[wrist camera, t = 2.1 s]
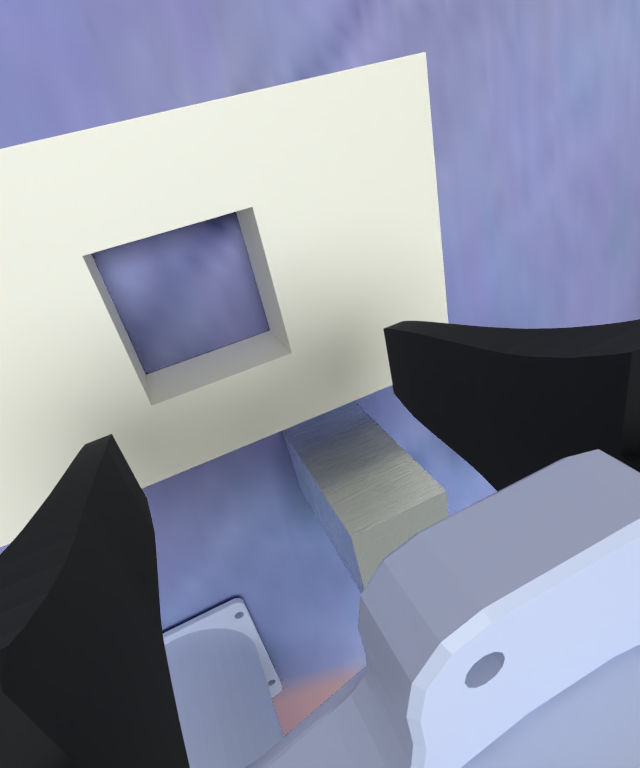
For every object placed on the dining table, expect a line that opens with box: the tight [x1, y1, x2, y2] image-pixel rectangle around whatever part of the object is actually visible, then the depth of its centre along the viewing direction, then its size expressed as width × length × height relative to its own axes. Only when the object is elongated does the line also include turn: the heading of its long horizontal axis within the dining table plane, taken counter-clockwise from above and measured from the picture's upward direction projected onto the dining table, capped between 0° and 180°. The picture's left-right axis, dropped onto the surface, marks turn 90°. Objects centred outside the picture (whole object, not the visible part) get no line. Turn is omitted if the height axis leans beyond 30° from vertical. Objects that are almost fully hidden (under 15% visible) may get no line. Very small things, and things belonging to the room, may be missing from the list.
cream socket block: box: [0, 52, 448, 547], centre depth 18 cm, size 12×20×3 cm, turn 104°
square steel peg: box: [282, 401, 449, 594], centre depth 22 cm, size 4×4×8 cm
